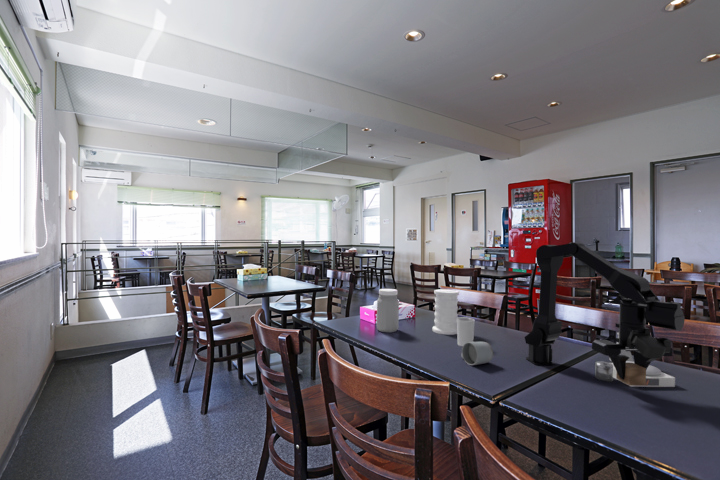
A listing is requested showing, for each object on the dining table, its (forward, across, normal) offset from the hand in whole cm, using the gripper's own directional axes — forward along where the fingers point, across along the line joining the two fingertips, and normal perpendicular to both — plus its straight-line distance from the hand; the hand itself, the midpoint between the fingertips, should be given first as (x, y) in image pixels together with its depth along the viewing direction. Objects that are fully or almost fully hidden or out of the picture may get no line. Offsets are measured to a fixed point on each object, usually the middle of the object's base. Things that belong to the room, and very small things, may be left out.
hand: (630, 379), depth 97 cm
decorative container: (+4, -33, +63) cm, 71 cm away
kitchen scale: (+4, +10, +10) cm, 15 cm away
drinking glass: (+4, -31, +43) cm, 53 cm away
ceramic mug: (+4, -35, +24) cm, 42 cm away
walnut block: (+1, 0, 0) cm, 1 cm away
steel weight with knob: (+4, 0, +10) cm, 11 cm away
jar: (+4, -59, +64) cm, 87 cm away
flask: (+4, +17, +24) cm, 30 cm away
